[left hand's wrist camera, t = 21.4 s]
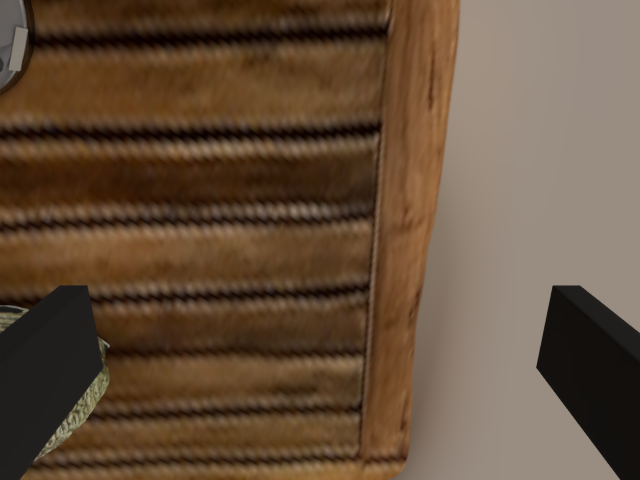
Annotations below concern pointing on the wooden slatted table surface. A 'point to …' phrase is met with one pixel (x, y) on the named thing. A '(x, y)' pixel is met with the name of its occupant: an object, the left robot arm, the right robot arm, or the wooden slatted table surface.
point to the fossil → (5, 317)
